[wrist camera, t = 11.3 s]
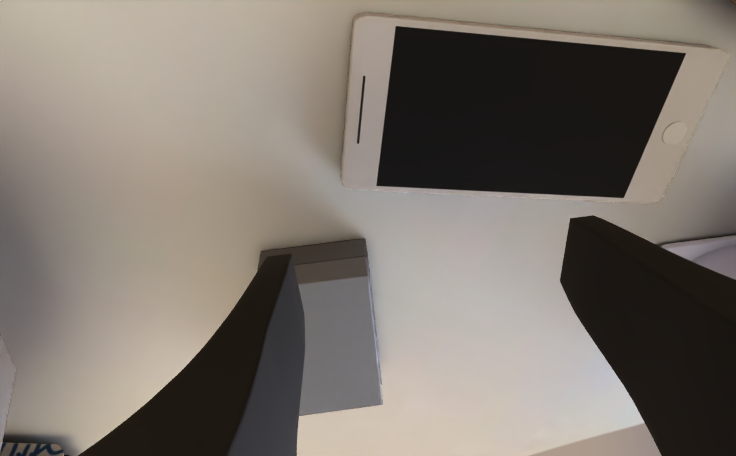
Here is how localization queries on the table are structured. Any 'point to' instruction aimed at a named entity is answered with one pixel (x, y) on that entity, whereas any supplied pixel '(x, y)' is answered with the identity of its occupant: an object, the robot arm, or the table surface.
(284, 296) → the robot arm
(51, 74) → the table surface
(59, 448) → the handgun
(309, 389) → the grey stack
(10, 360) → the flower arrangement
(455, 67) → the smartphone
